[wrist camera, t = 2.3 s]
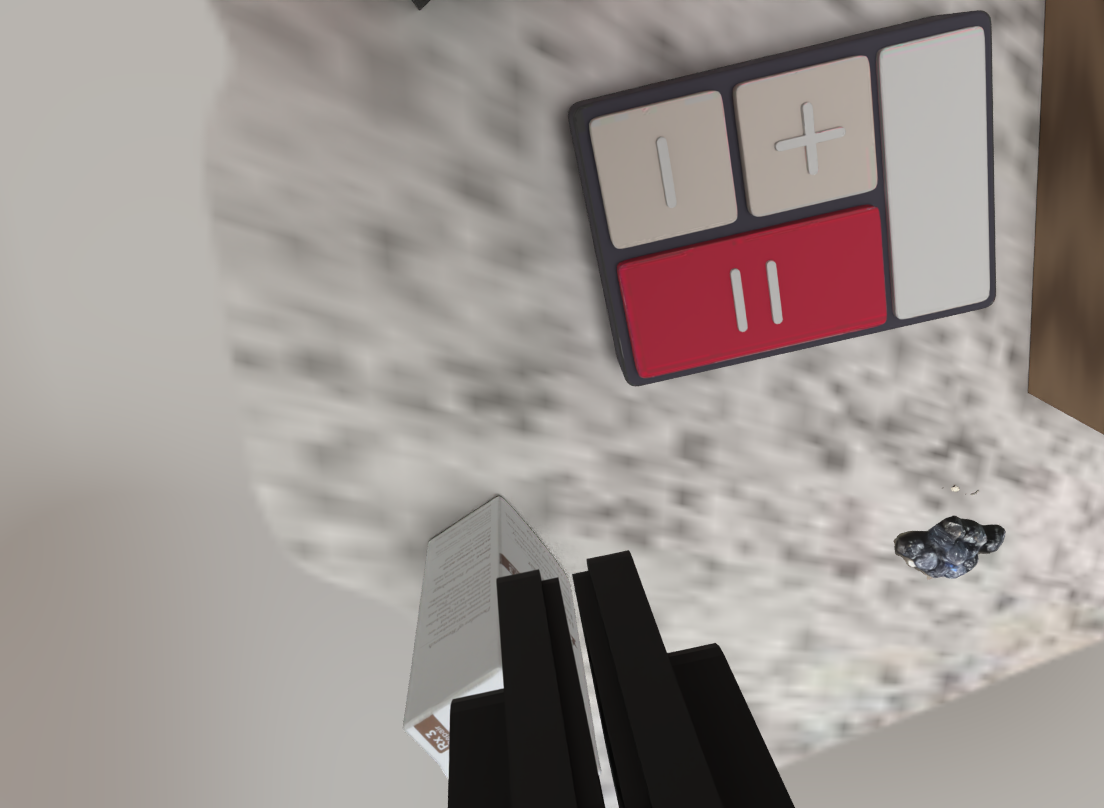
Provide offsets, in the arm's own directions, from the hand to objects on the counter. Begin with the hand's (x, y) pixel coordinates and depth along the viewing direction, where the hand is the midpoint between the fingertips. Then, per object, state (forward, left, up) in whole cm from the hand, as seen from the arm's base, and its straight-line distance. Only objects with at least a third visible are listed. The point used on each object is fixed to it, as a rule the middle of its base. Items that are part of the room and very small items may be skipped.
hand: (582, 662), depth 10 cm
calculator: (0, +11, -26) cm, 28 cm away
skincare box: (+14, -3, -25) cm, 29 cm away
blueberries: (+18, +19, -26) cm, 36 cm away
